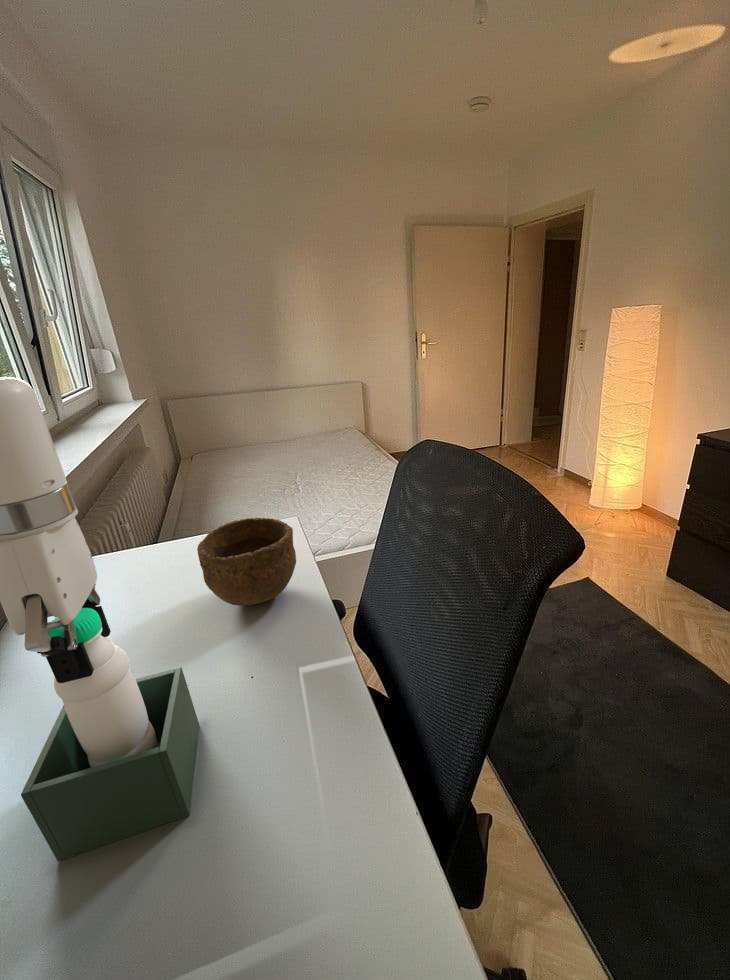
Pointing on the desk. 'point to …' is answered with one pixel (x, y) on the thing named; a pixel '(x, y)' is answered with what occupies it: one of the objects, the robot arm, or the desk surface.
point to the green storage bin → (117, 776)
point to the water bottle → (105, 698)
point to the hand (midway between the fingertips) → (86, 655)
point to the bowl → (248, 560)
